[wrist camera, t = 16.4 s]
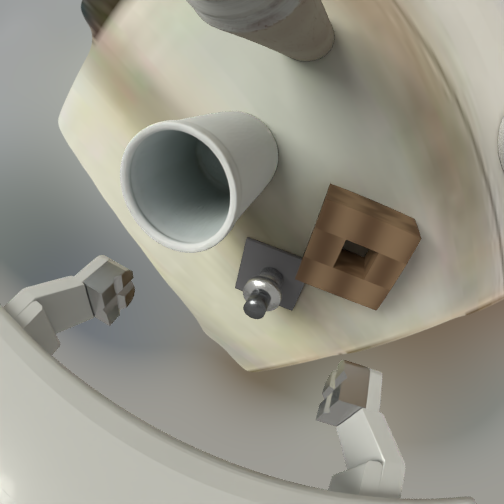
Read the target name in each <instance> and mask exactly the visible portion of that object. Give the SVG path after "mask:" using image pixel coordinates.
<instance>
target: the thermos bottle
mask: <svg viewBox="0 0 504 504" xmlns="http://www.w3.org/2000/svg"><path fill="white" fill-rule="evenodd" d="M187 2H188V3H189V4H190V5H191V6H192V7H193V8H194V9H195V11H196V13H197V14H198V15H199V16H200V17H201V19H202V20H203V21H205V22H206V23H208V24H209V25H211V26H213V27H215V28H218V29H220V30H223V31H226V32H229V33H231V34H234V35H237V36H240V37H243V38H245V39H248V40H251V41H253V42H256V43H258V44H261V45H263V46H265V47H268V48H270V49H273V50H275V51H277V52H279V53H282V54H284V55H286V56H288V57H290V58H293V59H295V60H299V61H313V60H317V59H320V58H321V57H323V56H325V55H326V54H327V53H328V52H329V51H330V49H331V48H332V46H333V43H334V31H333V28H332V25H331V23H330V20H329V18H328V15H327V13H326V11H325V8H324V6H323V4H322V2H321V0H187Z"/></svg>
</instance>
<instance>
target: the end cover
mask: <svg viewBox="0 0 504 504" xmlns="http://www.w3.org/2000/svg"><path fill="white" fill-rule="evenodd" d="M282 282H283V277H282V274H281V273H280V272H279V271H278V270H276V269H275V268H271V267H266V268H264V269H262V270H261V271H260V273H259V275H258V276H254V277H252V278H250V279H249V280H248V282H247V283H246V285H245V287H244V289H243V296H244V298H245V300H246V303H245V305H244V307H243V309H244V312H245V313H246V314H247V315H248V316H249V317H251V318H254V319H260V318H262V317H263V316H264V314H265V312H266V311H272V310H274V309H276V308H277V307H278V306H279V304H280V301H281V299H282V290H281V288H280V286H281V284H282Z"/></svg>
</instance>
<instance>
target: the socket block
mask: <svg viewBox="0 0 504 504" xmlns="http://www.w3.org/2000/svg"><path fill="white" fill-rule="evenodd" d="M346 240H348V241H351V242H353V243H356V244H358V245H361V246H363V247H366V248H368V249H369V250H368V252H367V254H366V256H365V257H362V256H360V255H357V254H355V253H352V252H350V251H347V250H345V249H342V247H343V245H344V243H345V241H346ZM420 240H421V236H420V233H419V230H418V227H417V224H416V221H415V219H413V218H411V217H409V216H407V215H405V214H403V213H400V212H398V211H396V210H394V209H391V208H389V207H387V206H384V205H382V204H380V203H378V202H375V201H373V200H370V199H368V198H366V197H363V196H361V195H358V194H356V193H353V192H351V191H348V190H346V189H343V188H341V187H338V186H335V185H333V184H330V185H329V188H328V191H327V194H326V197H325V199H324V202H323V205H322V208H321V210H320V213H319V216H318V219H317V221H316V224H315V227H314V229H313V232H312V235H311V237H310V240H309V242H308V245H307V248H306V250H305V253H304V255H303V258H302V261H301V264H300V266H299V269H298V272H297V274H296V277H295V279H296V280H298V281H301V282H303V283H306V284H309V285H311V286H314V287H316V288H319V289H322V290H324V291H327V292H329V293H332V294H335V295H337V296H340V297H342V298H345V299H348V300H350V301H353V302H355V303H358V304H361V305H363V306H366V307H369V308H371V309H374V310H377V309H378V308H379V306H380V305H381V303H382V302H383V300H384V299H385V297H386V296H387V294H388V293H389V291H390V290H391V288H392V287H393V285H394V284H395V282H396V280H397V279H398V277H399V276H400V274H401V272H402V271H403V269H404V268H405V266H406V264H407V263H408V261H409V259H410V258H411V256H412V254H413V252H414V251H415V249H416V247H417V246H418V244H419V242H420Z"/></svg>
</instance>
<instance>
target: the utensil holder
mask: <svg viewBox="0 0 504 504" xmlns="http://www.w3.org/2000/svg"><path fill="white" fill-rule="evenodd" d="M277 165H278V148H277V144H276V141H275V139H274V137H273V135H272V133H271V131H270V130H269V129H268V127H267V126H266V125H265V124H264V123H263V122H262V121H260V120H259V119H258V118H256V117H255V116H253V115H251V114H248V113H245V112H241V111H225V112H218V113H211V114H205V115H200V116H196V117H190V118H185V119H181V120H168V121H162V122H158V123H155V124H152V125H150V126H148V127H146V128H144V129H143V130H141V131H140V132H139V133H137V134H136V135H135V136H134V137H133V139H132V140H131V141H130V142H129V144H128V145H127V147H126V149H125V152H124V154H123V158H122V161H121V168H120V182H121V189H122V193H123V197H124V200H125V203H126V205H127V207H128V209H129V211H130V213H131V215H132V216H133V218H134V220H135V221H136V222H137V224H138V225H139V226H140V227H141V229H142V230H143V231H144V232H145V233H146V234H147V235H148V236H150V237H151V238H152V239H153V240H155V241H156V242H158V243H159V244H161V245H163V246H165V247H167V248H170V249H172V250H176V251H180V252H189V253H194V252H201V251H204V250H207V249H210V248H212V247H213V246H215V245H217V244H218V243H219V242H221V241H222V240H223V239H224V238H225V237H226V236H227V234H228V233H229V232H230V231H231V229H232V228H233V226H234V224H235V222H236V221H237V219H238V218H239V217H240V216H241V215H242V214H243V212H244V211H245V210H246V209H247V208H248V207H249V205H250V204H251V203H252V202H253V201H254V200H255V199H256V198H257V197H258V196H259V194H260V193H261V192H262V191H263V190H264V188H265V187H266V186H267V184H268V183H269V182H270V181H271V179H272V178H273V176H274V174H275V172H276V169H277Z"/></svg>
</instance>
